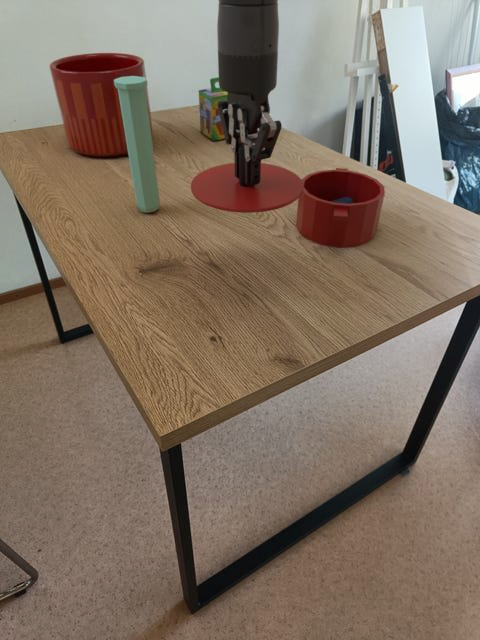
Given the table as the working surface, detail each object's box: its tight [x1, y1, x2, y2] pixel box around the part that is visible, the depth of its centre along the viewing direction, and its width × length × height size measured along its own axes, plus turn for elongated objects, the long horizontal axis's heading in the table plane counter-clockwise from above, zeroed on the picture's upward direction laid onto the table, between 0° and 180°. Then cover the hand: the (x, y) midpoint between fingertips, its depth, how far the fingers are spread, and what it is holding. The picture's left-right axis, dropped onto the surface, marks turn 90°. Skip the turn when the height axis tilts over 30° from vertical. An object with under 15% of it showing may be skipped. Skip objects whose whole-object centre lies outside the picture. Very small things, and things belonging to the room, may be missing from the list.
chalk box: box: [198, 76, 228, 142], centre depth 127 cm, size 9×9×15 cm
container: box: [114, 76, 161, 214], centre depth 87 cm, size 6×6×25 cm
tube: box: [330, 197, 353, 204], centre depth 90 cm, size 10×4×4 cm
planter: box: [49, 52, 154, 158], centre depth 119 cm, size 23×23×20 cm
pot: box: [295, 167, 386, 248], centre depth 87 cm, size 16×21×8 cm
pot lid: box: [190, 143, 303, 214], centre depth 66 cm, size 17×17×7 cm
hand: (247, 180), depth 67 cm, fingers closed on pot lid, 2 cm apart
